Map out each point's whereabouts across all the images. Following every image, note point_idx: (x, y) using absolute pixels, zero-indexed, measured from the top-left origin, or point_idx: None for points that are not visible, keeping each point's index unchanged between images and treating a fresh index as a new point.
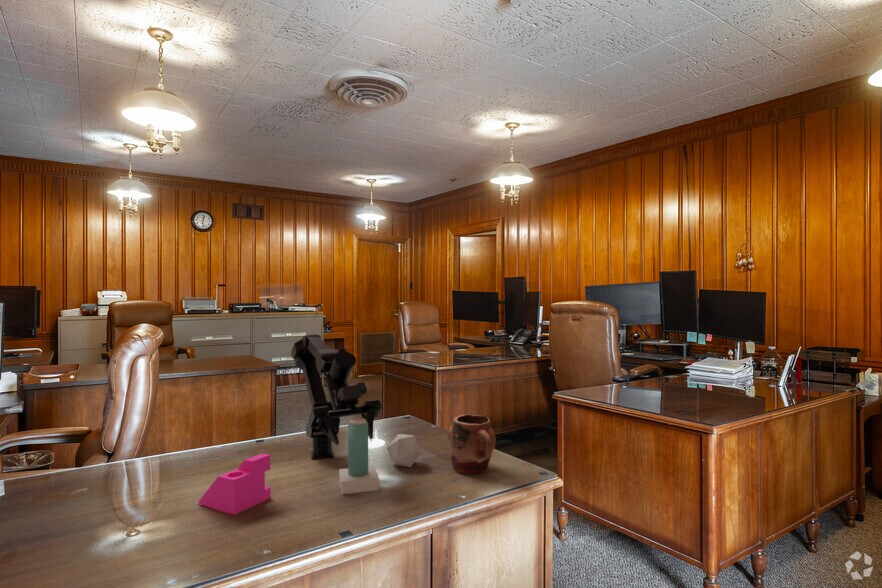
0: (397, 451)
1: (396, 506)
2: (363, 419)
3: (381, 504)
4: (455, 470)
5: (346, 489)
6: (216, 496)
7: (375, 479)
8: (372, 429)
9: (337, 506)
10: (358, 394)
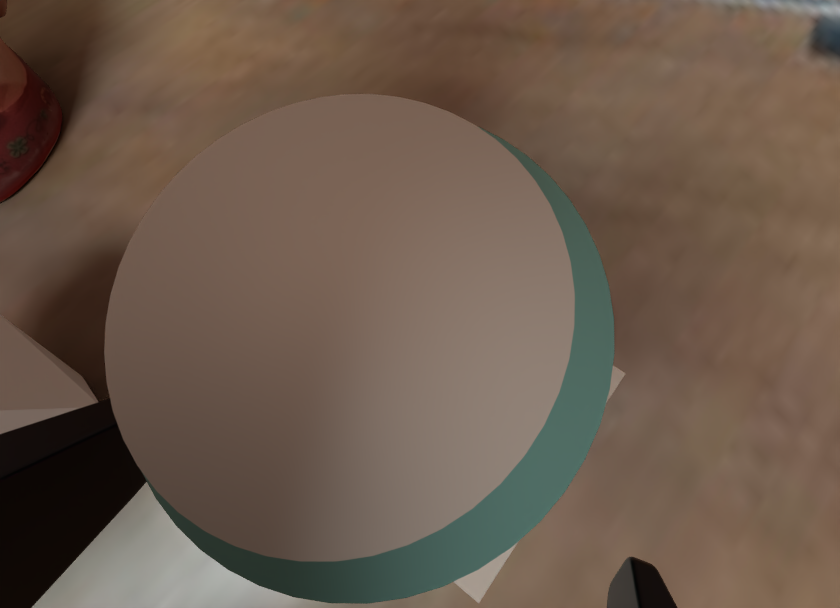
0: (42, 406)
1: (509, 83)
2: (176, 250)
3: (540, 140)
4: (40, 166)
5: None
6: None
7: None
8: (65, 418)
9: (714, 273)
10: None
